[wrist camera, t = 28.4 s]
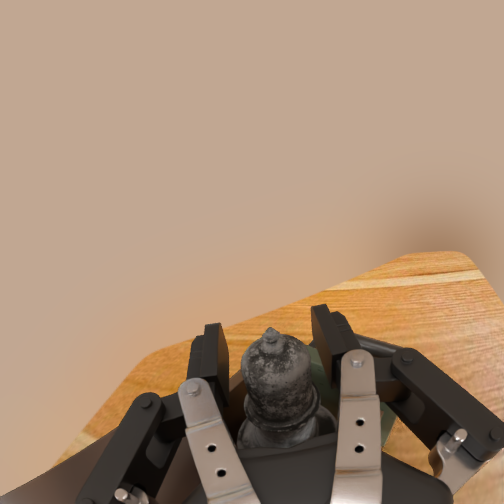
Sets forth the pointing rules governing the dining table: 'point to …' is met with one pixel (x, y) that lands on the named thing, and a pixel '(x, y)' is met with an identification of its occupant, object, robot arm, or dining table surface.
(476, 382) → the dining table surface
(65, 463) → the cabinet
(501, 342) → the dining table surface
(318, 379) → the drawer
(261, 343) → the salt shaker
